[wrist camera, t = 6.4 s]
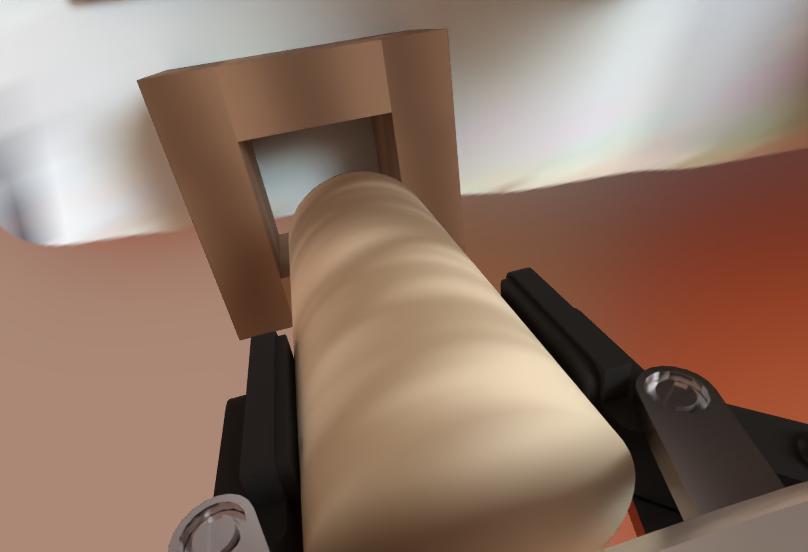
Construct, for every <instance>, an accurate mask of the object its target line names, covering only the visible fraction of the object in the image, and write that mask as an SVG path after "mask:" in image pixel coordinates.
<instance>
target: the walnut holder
mask: <svg viewBox="0 0 808 552" xmlns="http://www.w3.org/2000/svg"><path fill="white" fill-rule="evenodd" d="M137 83H138V85H139V88H140V90H141V93H142V95H143V98H144V101H145V103H146V106H147V108H148V111H149V113H150V116H151V118H152V121H153V123H154V126H155V128H156V131H157V133H158V136H159V138H160V141H161V143H162V146H163V148H164V151H165V153H166V156H167V158H168V161H169V163H170V166H171V168H172V171H173V174H174V176H175V179H176V181H177V184H178V186H179V189H180V191H181V194H182V196H183V199H184V201H185V204H186V206H187V209H188V211H189V214H190V216H191V219H192V221H193V224H194V226H195V229H196V231H197V234H198V236H199V239H200V242H201V244H202V246H203V249H204V252H205V254H206V257H207V259H208V262H209V264H210V267H211V269H212V271H213V274H214V277H215V279H216V282H217V284H218V286H219V289H220V292H221V294H222V297H223V299H224V302H225V304H226V307H227V310H228V312H229V314H230V317H231V320H232V322H233V325H234V327H235V329H236V332H237V335H238V337H239V339H240V340H243V339H247V338H251V337H252V336H256V335H260V334H264V333H268V332H272V331H278V330H282V329H286V328H290V327H293V324H292V303H291V283H290V262H289V241H288V239H289V233H286V234H281V235H279V234H278V230H277V227H276V224H275V220H274V217H273V214H272V210H271V207H270V204H269V200H268V197H267V194H266V190H265V187H264V184H263V180H262V177H261V174H260V170H259V167H258V164H257V160H256V157H255V154H254V150H253V147H252V144H251V140H250V139H255V138H261V137H266V136H271V135H276V134H281V133H286V132H292V131H297V130H302V129H307V128H312V127H318V126H323V125H328V124H333V123H338V122H344V121H349V120H354V119H359V118H364V117H370V116H371V118H372V124H373V130H374V136H375V142H376V148H377V154H378V160H379V166H380V172H381V174H385V175H388V176H390V177H392V178H395V179H396V180H398V181H400V182H402V183H403V184H404V185H406V186H407V187H408V188H409V189H410V190H411V191H412V192H413V193H414V194H415V195H416V196H417V197H418V198H419V200H420V201H421V202H422V203H423V204H424V206H425V207H426V208H427V209H428V210H429V211H430V213H431V214H432V215H433V216H434V217H435V219H436V220H437V221H438V222H439V223H440V224H441V226H442V227H443V228H444V229H445V230H446V232H447V233H448V234H449V235H450V236H451V238H452V239H453V240H454V241H455V242H456V243H457V245H458V246H459V247H460V248H461V249H462V251H463V252H464V253H465V244H464V232H463V219H462V207H461V194H460V181H459V169H458V156H457V144H456V131H455V119H454V106H453V94H452V81H451V68H450V56H449V43H448V31H447V29H424V30H408V31H402V32H396V33H390V34H384V35H378V36H372V37H365V38H359V39H353V40H347V41H341V42H335V43H329V44H323V45H317V46H311V47H305V48H299V49H293V50H287V51H281V52H275V53H268V54H262V55H256V56H250V57H244V58H238V59H232V60H226V61H220V62H214V63H208V64H202V65H196V66H190V67H184V68H177V69H171V70H166V71H163V72H160V73H157V74H154V75H151V76H148V77H145V78H142V79H139V80H137Z"/></svg>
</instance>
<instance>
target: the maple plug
mask: <svg viewBox="0 0 808 552" xmlns="http://www.w3.org/2000/svg"><path fill="white" fill-rule="evenodd" d="M288 241H289V262H290V283H291V303H292V324H293V342H294V343H293V344H294V365H295V386H296V406H297V427H298V447H299V468H300V488H301V509H302V530H303V550H304V552H597V551H600V550H602V549H603V548H604V547H605V546H606V545H607V544H608V542H609V541H610V539H611V538H612V537H613V535H614V534H615V533H616V531H617V530H618V528H619V526H620V524H621V523H622V521H623V519H624V518H625V515H626V513H627V511H628V509H629V506H630V504H631V500H632V497H633V493H634V487H635V468H634V462H633V459H632V456H631V453H630V451H629V449H628V448H627V446H626V445H625V443H624V442H623V440H622V439H621V438H620V437H619V435H618V434H617V433H616V432H615V431H614V429H613V428H612V427H611V426H610V425H609V424H608V422H607V421H606V420H605V419H604V418H603V416H602V415H601V414H600V413H599V412H598V410H597V409H596V408H595V407H594V406H593V405H592V403H591V402H590V401H589V400H588V399H587V397H586V396H585V395H584V394H583V393H582V392H581V390H580V389H579V388H578V387H577V386H576V384H575V383H574V382H573V381H572V380H571V379H570V377H569V376H568V375H567V374H566V373H565V371H564V370H563V369H562V368H561V367H560V365H559V364H558V363H557V362H556V361H555V360H554V358H553V357H552V356H551V355H550V354H549V352H548V351H547V350H546V349H545V348H544V347H543V345H542V344H541V343H540V342H539V341H538V339H537V338H536V337H535V336H534V335H533V333H532V332H531V331H530V330H529V329H528V328H527V326H526V325H525V324H524V323H523V322H522V320H521V319H520V318H519V317H518V316H517V315H516V313H515V312H514V311H513V310H512V309H511V307H510V306H509V305H508V304H507V303H506V301H505V300H504V299H503V298H502V297H501V296H500V294H499V293H498V292H497V291H496V290H495V288H494V287H493V286H492V285H491V284H490V283H489V281H488V280H487V279H486V278H485V277H484V276H483V274H482V273H481V272H480V271H479V270H478V268H477V267H476V266H475V265H474V264H473V262H472V261H471V260H470V259H469V258H468V257H467V255H466V254H465V253H464V252H463V251H462V249H461V248H460V247H459V246H458V245H457V243H456V242H455V241H454V240H453V239H452V238H451V236H450V235H449V234H448V233H447V232H446V230H445V229H444V228H443V227H442V226H441V224H440V223H439V222H438V221H437V220H436V219H435V217H434V216H433V215H432V214H431V213H430V211H429V210H428V209H427V208H426V207H425V206H424V204H423V203H422V202H421V201H420V200H419V198H418V197H417V196H416V195H415V194H414V193H413V192H412V191H411V190H410V189H409V188H408V187H407V186H406V185H404V184H403V183H402V182H400V181H398V180H396V179H395V178H392V177H390V176H388V175H385V174H381V173H377V172H369V171H356V172H349V173H344V174H341V175H337V176H335V177H333V178H330V179H328V180H326V181H325V182H323V183H321V184H320V185H318V186H317V187H316V188H314V189H313V190H312V191H311V192H310V193H309V194H308V195H307V196H306V197H305V198H304V199H303V201H302V202H301V203H300V205H299V206H298V208H297V210H296V212H295V214H294V216H293V219H292V222H291V225H290V230H289V239H288Z"/></svg>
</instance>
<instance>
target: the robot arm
mask: <svg viewBox="0 0 808 552" xmlns="http://www.w3.org/2000/svg"><path fill="white" fill-rule="evenodd" d="M501 297H502V298H503V299H504V300H505V301H506V303H507V304H508V305H509V306H510V307H511V309H512V310H513V311H514V312H515V313H516V315H517V316H518V317H519V318H520V319H521V320H522V322H523V323H524V324H525V325H526V326H527V328H528V329H529V330H530V331H531V332H532V333H533V335H534V336H535V337H536V338H537V339H538V341H539V342H540V343H541V344H542V345H543V347H544V348H545V349H546V350H547V351H548V352H549V354H550V355H551V356H552V357H553V358H554V360H555V361H556V362H557V363H558V364H559V365H560V367H561V368H562V369H563V370H564V371H565V373H566V374H567V375H568V376H569V377H570V379H571V380H572V381H573V382H574V383H575V384H576V386H577V387H578V388H579V389H580V390H581V392H582V393H583V394H584V395H585V396H586V397H587V399H588V400H589V401H590V402H591V403H592V405H593V406H594V407H595V408H596V409H597V410H598V412H599V413H600V414H601V415H602V416H603V418H604V419H605V420H606V421H607V422H608V424H609V425H610V426H611V427H612V428H613V429H614V431H615V432H616V433H617V434H618V435H619V437H620V438H621V439H622V440H623V442H624V443H625V445H626V446H627V448H628V449H629V451H630V453H631V456H632V459H633V462H634V468H635V487H634V493H633V497H632V500H631V504H630V506H629V509H628V513H629V516H630V519H631V521H632V524H633V527H634V530H635V532H636V535H637V538H634V539H632V540H629V541H625V542H623V543H620V544H617V545H614V546H611V547H608V548H606V549H602V550H600V551H597V552H808V424H805V423H801V422H797V421H793V420H789V419H785V418H781V417H777V416H773V415H769V414H765V413H761V412H757V411H753V410H749V409H745V408H741V407H737V406H733V405H729V404H726V403H725V401H724V400H723V399H722V397H721V396H720V394H719V393H718V392H717V390H716V389H715V388H714V387H713V386H712V385H711V384H710V383H709V381H707V380H706V379H704V378H703V377H701V376H700V375H698V374H696V373H693V372H691V371H688V370H686V369H681V368H677V367H671V366H658V367H652V368H649V369H647V370H643V369H642V368H641V367H640V366H639V365H638V364H637V363H636V362H635V361H634V360H633V359H632V358H630V357H629V356H628V355H627V354H626V353H625V352H624V351H623V350H622V349H621V348H620V347H619V346H617V345H616V344H615V343H614V342H613V341H612V340H611V339H610V338H608V336H607V335H606V334H605V333H603V332H602V331H601V330H600V329H599V328H598V327H597V326H596V325H595V324H594V323H593V322H592V321H590V320H589V319H588V318H587V317H586V316H585V315H584V314H583V313H582V312H581V311H579V310H578V309H576V308H573V307H572V306H571V305H570V304H569V303H568V302H567V301H566V300H565V299H564V298H562V297H561V296H560V295H559V294H558V293H557V292H556V291H555V290H554V289H553V288H552V287H551V286H550V285H549V284H548V283H546V282H545V281H544V280H543V279H542V278H541V277H540V276H539V275H538V274H537V273H536V272H535V271H534V270H532V269H531V268H524V269H520V270H516V271H512V272H509V273H508V274H507V276H506V279H503V280H502V281H501ZM169 552H304V550H303V530H302V509H301V488H300V468H299V447H298V427H297V406H296V386H295V365H294V357H293V354H292V351H291V348H290V345H289V342H288V339H287V336H286V335H281V336H278V335H277V333H276V331H272V332H268V333H264V334H260V335H256V336H252V337H251V345H250V356H249V368H248V379H247V391H246V395H243V396H239V397H236V398H232V399H229V400H228V401H227V405H226V410H225V418H224V425H223V432H222V439H221V446H220V454H219V461H218V468H217V475H216V482H215V490H214V497H213V498H211V499H209V500H206V501H204V502H203V503H201V504H200V505H199V506H197V507H196V508H194V509H193V510H192V511H191V512H190V513H189V514H188V515H187V516H186V517H185V518H184V519H183V520H182V521H181V522H180V524H179V525H178V527H177V528H176V530H175V532H174V533H173V536H172V539H171V541H170V544H169Z"/></svg>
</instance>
